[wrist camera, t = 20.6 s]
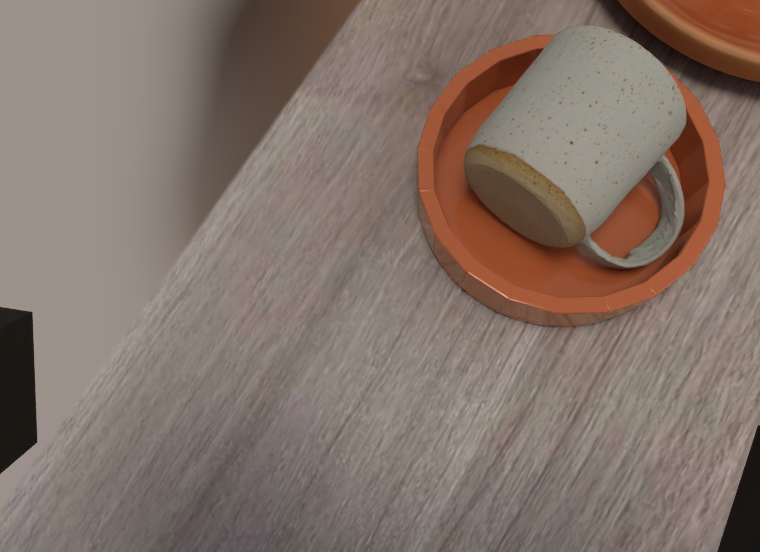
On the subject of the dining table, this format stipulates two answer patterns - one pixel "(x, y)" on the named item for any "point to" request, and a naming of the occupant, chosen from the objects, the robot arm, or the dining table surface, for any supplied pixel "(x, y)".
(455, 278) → the holder
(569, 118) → the ceramic mug
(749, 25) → the saucer
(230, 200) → the dining table surface
